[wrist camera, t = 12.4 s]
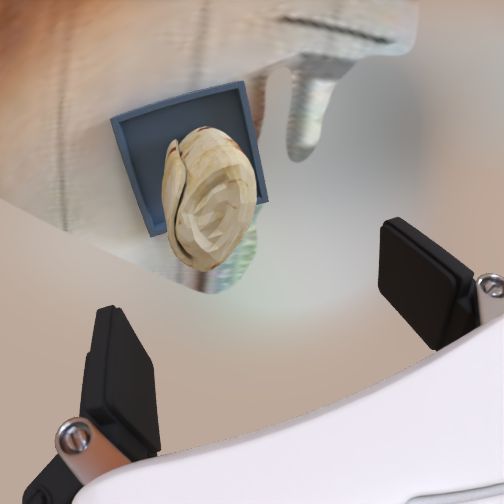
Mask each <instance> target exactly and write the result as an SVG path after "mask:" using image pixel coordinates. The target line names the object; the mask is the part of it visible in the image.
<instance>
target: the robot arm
mask: <svg viewBox="0 0 504 504" xmlns="http://www.w3.org/2000/svg"><path fill="white" fill-rule="evenodd" d="M379 254H380V255H379V276H378V288H379V290H380V293H381V294H382V295H383V296H384V297H385V298H386V299H387V300H388V301H389V302H390V303H391V305H392V306H393V307H394V308H395V309H396V310H397V311H398V312H399V314H400V315H401V316H402V317H403V318H404V319H405V320H406V321H407V322H408V324H409V325H410V326H411V327H412V328H413V329H414V330H415V332H416V333H417V334H418V335H419V336H420V337H421V338H422V339H423V341H424V342H425V343H426V344H427V345H428V346H429V348H430V349H432V350H436V351H437V352H436V353H434V354H432V355H430V356H428V357H427V358H425V359H423V360H421V361H419V362H417V363H416V364H414V365H412V366H410V367H408V368H406V369H404V370H402V371H400V372H398V373H396V374H394V375H392V376H390V377H388V378H386V379H385V380H382V381H380V382H378V383H376V384H374V385H372V386H370V387H367V388H365V389H363V390H361V391H359V392H356V393H354V394H352V395H350V396H347V397H345V398H343V399H340V400H338V401H336V402H333V403H331V404H329V405H326V406H323V407H321V408H318V409H316V410H313V411H311V412H308V413H305V414H303V415H300V416H297V417H295V418H292V419H289V420H286V421H284V422H281V423H278V424H275V425H272V426H269V427H266V428H263V429H260V430H256V431H253V432H250V433H247V434H243V435H240V436H237V437H233V438H229V439H226V440H222V441H218V442H214V443H211V444H207V445H203V446H199V447H196V448H191V449H187V450H183V451H179V452H174V453H170V454H165V455H161V456H157V452H158V451H160V450H161V443H160V436H159V435H160V434H159V425H158V415H157V406H156V405H157V404H156V393H155V381H154V380H155V379H154V367H153V364H152V361H151V359H150V357H149V356H148V354H147V353H146V351H145V349H144V348H143V346H142V344H141V343H140V341H139V339H138V337H137V336H136V334H135V332H134V330H133V329H132V327H131V325H130V323H129V321H128V320H127V318H126V316H125V314H124V313H123V311H122V309H121V308H116V307H115V306H114V305H111V306H107V307H104V308H101V309H98V310H97V313H96V319H95V325H94V330H93V336H92V343H91V350H90V352H89V353H87V356H86V362H85V369H84V376H83V384H82V393H81V403H80V414H79V417H74V418H71V419H68V420H67V421H66V422H64V423H63V424H62V425H61V426H60V428H59V429H58V431H57V433H56V436H55V448H56V450H57V452H58V454H57V455H56V456H55V457H54V458H53V459H52V461H51V462H50V463H49V464H48V465H47V466H46V467H45V468H44V469H43V470H42V472H41V473H40V474H39V475H38V476H37V477H36V478H35V479H34V480H33V481H32V483H31V484H30V485H29V486H28V487H27V489H26V490H25V492H24V494H23V499H22V504H504V277H502V276H500V275H497V274H492V273H486V274H483V275H481V276H480V277H478V279H477V280H476V281H475V280H474V279H473V276H474V272H473V271H471V270H470V269H469V268H468V267H466V266H465V265H464V264H463V263H461V262H460V261H459V260H457V259H456V258H455V257H454V256H452V255H451V254H450V253H448V252H447V251H446V250H444V249H443V248H442V247H440V246H439V245H438V244H436V243H435V242H434V241H432V240H431V239H429V238H428V237H427V236H426V235H424V234H422V233H421V232H420V231H419V230H417V229H416V228H414V227H413V226H412V225H410V224H408V223H407V222H406V221H404V220H403V219H401V218H400V217H396V218H393V219H389V220H386V221H385V222H384V223H383V226H382V227H381V228H380V253H379Z"/></svg>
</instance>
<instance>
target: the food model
mask: <svg viewBox="0 0 504 504" xmlns="http://www.w3.org/2000/svg"><path fill="white" fill-rule="evenodd" d="M256 202H257V191H256V179H255V174H254V170H253V168H252V166H251V164H250V162H249V160H248V158H247V157H246V155H245V154H244V152H243V151H242V150H241V149H240V147H239V146H238V144H237V143H236V142H235V141H233V140H232V139H231V138H230V137H229V136H228V135H227V134H225V133H224V132H222V131H220V130H218V129H215V128H211V127H207V126H205V127H201V128H197V129H195V130H194V131H192V132H191V133H189V134H188V135H187V136H186V137H185V138H184V139H183V140H182V141H181V143H180V144H179V145H178V141H177V140H176V139H175V140H173V141H172V142H171V143H170V145H169V147H168V150H167V154H166V158H165V169H164V176H163V181H162V203H163V209H164V213H165V220H166V225H167V235H168V239H169V242H170V246H171V248H172V250H173V252H174V253H175V255H176V256H177V257H178V258H179V259H180V261H182V262H183V263H184V264H186V265H187V266H190V267H192V268H194V269H196V270H199V271H202V272H205V271H208V270H212V269H214V268H215V267H217V266H218V265H220V264H221V263H222V262H223V261H224V260H225V259H226V258H227V257H228V256H229V255H230V254H231V253H232V252H233V251H234V249H235V248H236V246H237V245H238V244H239V242H240V241H241V239H242V238H243V236H244V234H245V232H246V231H247V229H248V227H249V225H250V223H251V221H252V219H253V214H254V210H255V206H256Z"/></svg>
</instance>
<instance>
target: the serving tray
mask: <svg viewBox="0 0 504 504" xmlns="http://www.w3.org/2000/svg"><path fill="white" fill-rule="evenodd" d="M110 120H111V124H112V127H113V130H114V133H115V137H116V140H117V143H118V146H119V149H120V152H121V156H122V159H123V162H124V165H125V168H126V171H127V174H128V177H129V179H130V182H131V185H132V188H133V191H134V194H135V197H136V199H137V202H138V205H139V208H140V210H141V213H142V216H143V218H144V221H145V224H146V226H147V229H148V232H149V234H150V237H153V236H156V235H160V234H163V233H166V232H167V225H166V220H165V213H164V209H163V203H162V181H163V176H164V169H165V158H166V154H167V150H168V147H169V145H170V143H171V142H172V141H173V140H175V139H176V140H177V141H178V145H179V144H180V143H181V141H182V140H183V139H184V138H185V137H186V136H187V135H188V134H189V133H191V132H192V131H194V130H195V129H197V128H201V127H205V126H207V127H211V128H215V129H218V130H220V131H222V132H224V133H225V134H227V135H228V136H229V137H230V138H231V139H232V140H233V141H235V142H236V143H237V144H238V146H239V147H240V149H241V150H242V151H243V152H244V154H245V155H246V157H247V158H248V160H249V162H250V164H251V166H252V168H253V170H254V174H255V179H256V191H257V202H256V205H258V204H262V203H266V202H269V200H268V195H267V190H266V185H265V180H264V175H263V170H262V165H261V160H260V155H259V151H258V145H257V140H256V135H255V130H254V126H253V121H252V116H251V111H250V107H249V102H248V97H247V93H246V88H245V84H244V81H237V82H232V83H227V84H223V85H219V86H214V87H210V88H206V89H202V90H198V91H195V92H191V93H187V94H183V95H180V96H176V97H173V98H169V99H166V100H163V101H159V102H156V103H153V104H150V105H147V106H144V107H141V108H138V109H135V110H132V111H129V112H126V113H123V114H120V115H118V116H115V117H113V118H111V119H110Z"/></svg>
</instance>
